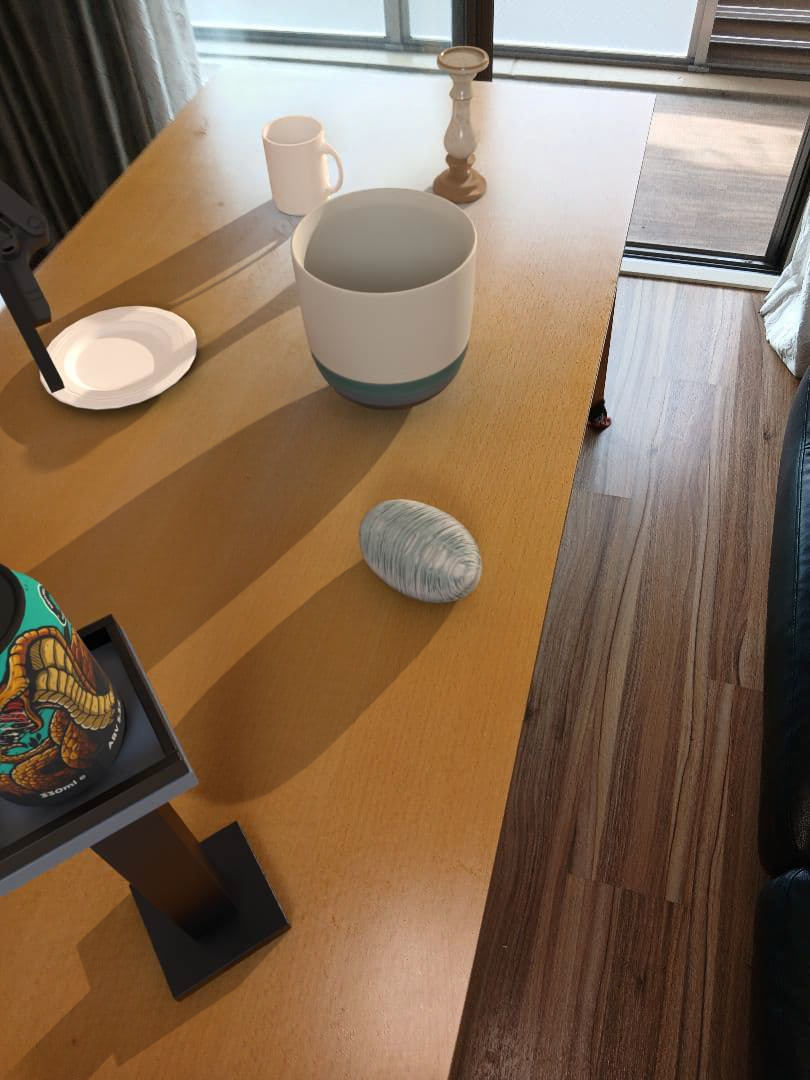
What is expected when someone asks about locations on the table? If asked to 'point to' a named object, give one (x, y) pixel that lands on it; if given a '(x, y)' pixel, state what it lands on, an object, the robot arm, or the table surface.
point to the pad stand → (151, 839)
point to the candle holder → (461, 127)
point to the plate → (121, 357)
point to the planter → (386, 293)
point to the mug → (298, 163)
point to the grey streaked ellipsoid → (420, 551)
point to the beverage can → (50, 701)
